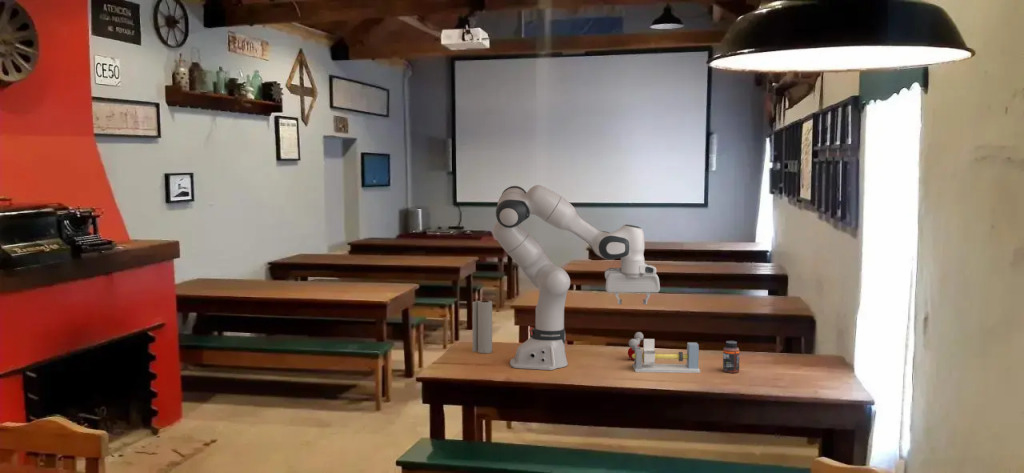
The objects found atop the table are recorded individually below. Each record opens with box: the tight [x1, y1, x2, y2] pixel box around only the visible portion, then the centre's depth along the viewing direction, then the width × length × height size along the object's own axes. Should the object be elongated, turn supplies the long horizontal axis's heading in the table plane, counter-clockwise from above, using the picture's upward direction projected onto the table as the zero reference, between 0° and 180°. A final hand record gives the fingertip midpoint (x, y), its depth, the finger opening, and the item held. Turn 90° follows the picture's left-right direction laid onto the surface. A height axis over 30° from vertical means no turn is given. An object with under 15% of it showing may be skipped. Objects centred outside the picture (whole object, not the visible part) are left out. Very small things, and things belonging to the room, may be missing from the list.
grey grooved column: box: [472, 300, 493, 354], centre depth 327 cm, size 7×6×21 cm
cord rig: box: [632, 341, 701, 374], centre depth 299 cm, size 25×9×10 cm, turn 88°
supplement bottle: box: [722, 340, 740, 374], centre depth 296 cm, size 6×6×11 cm
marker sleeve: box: [642, 338, 656, 365], centre depth 299 cm, size 4×5×9 cm
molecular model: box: [627, 331, 644, 361], centre depth 314 cm, size 18×6×10 cm, turn 162°
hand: (632, 304), depth 298 cm, fingers open, 8 cm apart
